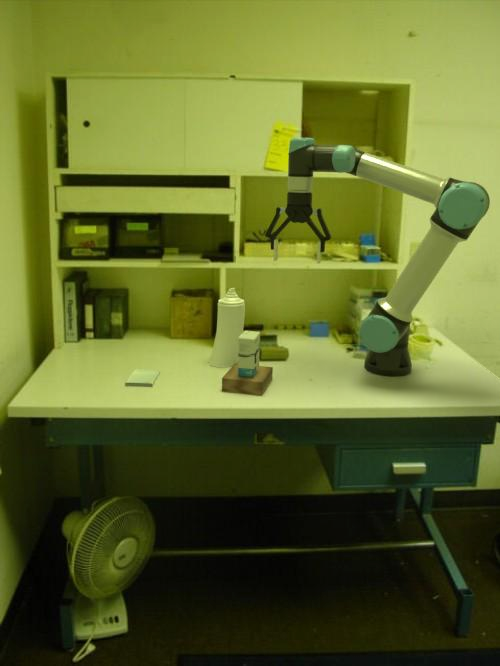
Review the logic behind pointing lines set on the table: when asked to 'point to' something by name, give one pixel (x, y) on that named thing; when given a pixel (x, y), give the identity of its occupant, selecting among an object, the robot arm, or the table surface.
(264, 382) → the wooden block
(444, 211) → the robot arm
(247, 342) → the ink box
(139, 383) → the hard drive
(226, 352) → the spray can
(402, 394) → the table surface
